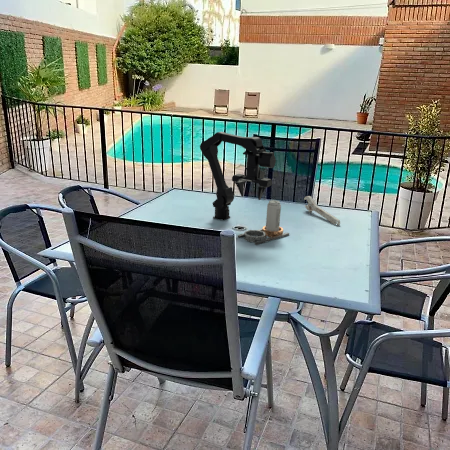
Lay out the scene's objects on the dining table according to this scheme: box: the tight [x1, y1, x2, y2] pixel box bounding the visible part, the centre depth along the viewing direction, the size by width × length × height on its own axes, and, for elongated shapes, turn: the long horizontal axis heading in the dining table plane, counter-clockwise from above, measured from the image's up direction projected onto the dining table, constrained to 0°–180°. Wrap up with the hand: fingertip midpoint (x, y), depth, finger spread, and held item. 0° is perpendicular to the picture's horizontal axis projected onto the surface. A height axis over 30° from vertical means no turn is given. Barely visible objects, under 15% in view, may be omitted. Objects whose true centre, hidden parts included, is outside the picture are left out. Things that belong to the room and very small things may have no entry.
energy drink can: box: [265, 199, 282, 231], centre depth 191 cm, size 6×6×15 cm
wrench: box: [303, 195, 341, 226], centre depth 220 cm, size 8×2×30 cm
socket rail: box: [237, 225, 290, 246], centre depth 189 cm, size 21×12×2 cm, turn 132°
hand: (250, 198), depth 201 cm, fingers open, 9 cm apart
